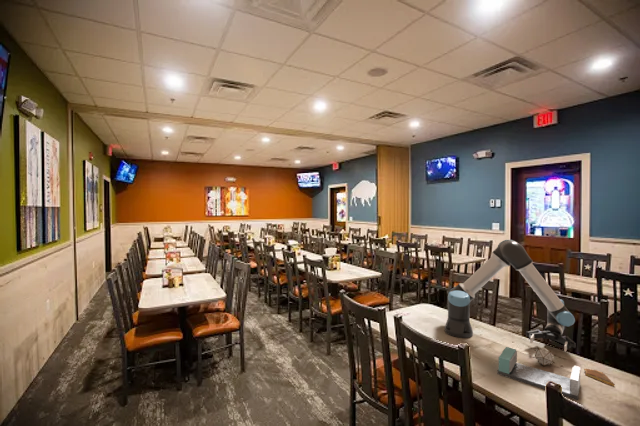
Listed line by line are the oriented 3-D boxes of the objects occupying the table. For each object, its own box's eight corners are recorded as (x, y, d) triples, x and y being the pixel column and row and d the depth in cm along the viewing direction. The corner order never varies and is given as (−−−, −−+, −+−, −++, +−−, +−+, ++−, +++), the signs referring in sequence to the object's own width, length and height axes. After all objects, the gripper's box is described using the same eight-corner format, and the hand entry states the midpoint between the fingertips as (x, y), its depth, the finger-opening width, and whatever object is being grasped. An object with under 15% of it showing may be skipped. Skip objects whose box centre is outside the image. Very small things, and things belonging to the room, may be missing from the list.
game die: (549, 374, 144) (563, 363, 138) (530, 366, 146) (543, 355, 140) (545, 357, 151) (558, 346, 145) (527, 349, 153) (539, 338, 147)
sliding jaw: (506, 359, 147) (506, 346, 147) (517, 362, 144) (517, 349, 144) (498, 370, 137) (498, 357, 137) (510, 374, 134) (510, 360, 134)
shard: (615, 388, 128) (615, 383, 128) (591, 384, 131) (591, 379, 130) (602, 374, 138) (602, 370, 138) (581, 371, 141) (581, 367, 141)
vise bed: (504, 362, 148) (505, 346, 148) (580, 384, 129) (580, 367, 129) (497, 373, 138) (497, 357, 137) (577, 400, 119) (578, 380, 119)
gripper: (583, 345, 160) (580, 360, 144) (525, 332, 177) (518, 344, 161) (583, 331, 160) (580, 344, 144) (526, 319, 177) (518, 330, 161)
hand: (547, 344), depth 153 cm, fingers open, 13 cm apart
